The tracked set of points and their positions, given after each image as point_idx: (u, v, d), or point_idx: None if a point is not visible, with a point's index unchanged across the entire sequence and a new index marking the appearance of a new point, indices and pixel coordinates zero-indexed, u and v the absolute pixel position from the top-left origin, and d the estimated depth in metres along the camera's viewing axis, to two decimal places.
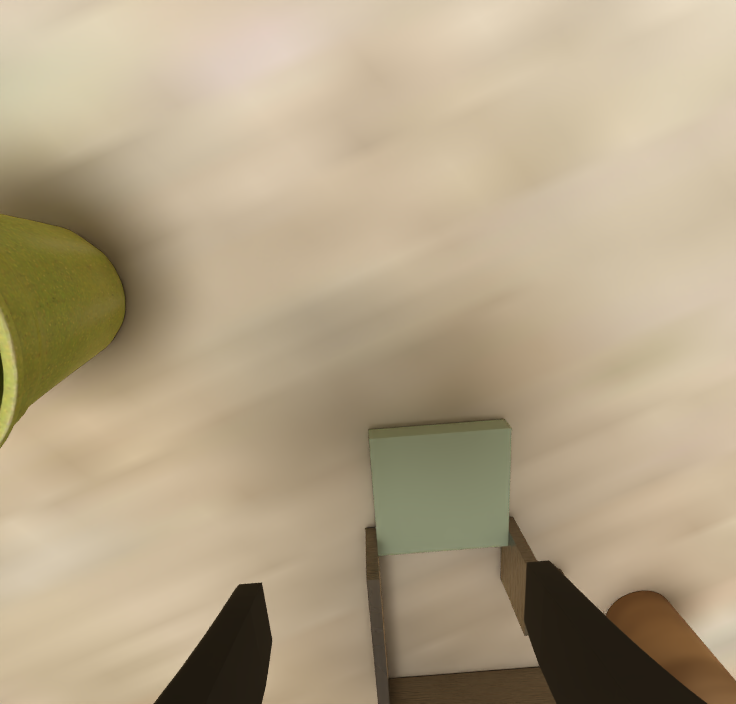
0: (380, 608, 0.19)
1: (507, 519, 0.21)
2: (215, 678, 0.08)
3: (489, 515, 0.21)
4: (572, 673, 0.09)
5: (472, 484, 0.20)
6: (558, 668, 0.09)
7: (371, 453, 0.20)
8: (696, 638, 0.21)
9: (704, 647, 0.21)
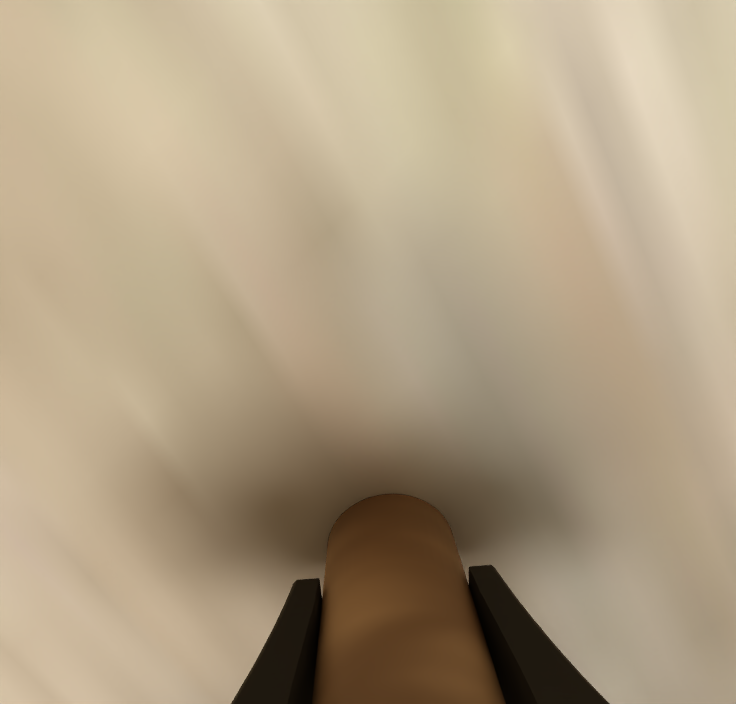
0: None
1: None
2: (293, 672, 0.08)
3: None
4: (501, 678, 0.09)
5: None
6: None
7: None
8: (328, 601, 0.10)
9: (327, 619, 0.09)
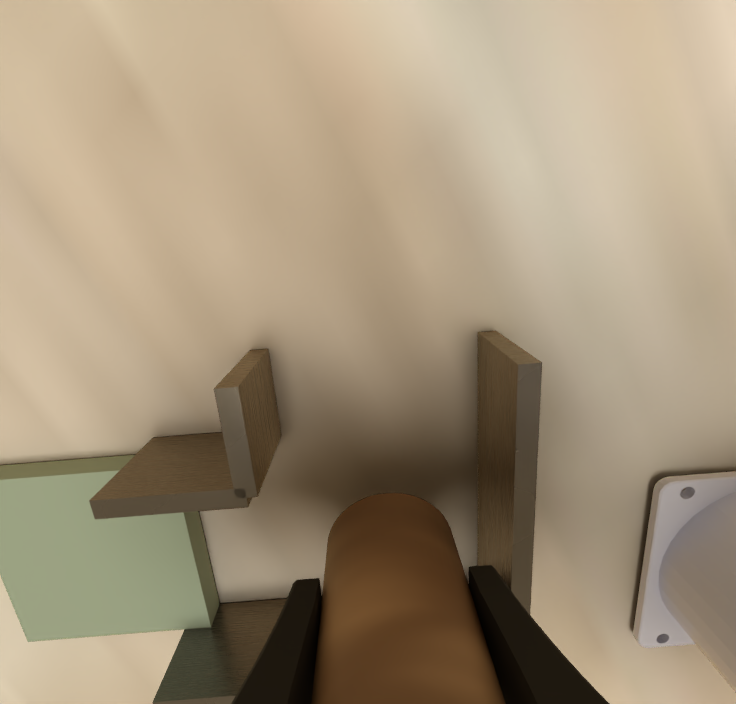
0: (207, 699, 0.13)
1: None
2: (293, 672, 0.08)
3: None
4: (501, 679, 0.09)
5: (68, 524, 0.14)
6: None
7: (47, 639, 0.15)
8: (329, 599, 0.10)
9: (327, 617, 0.09)
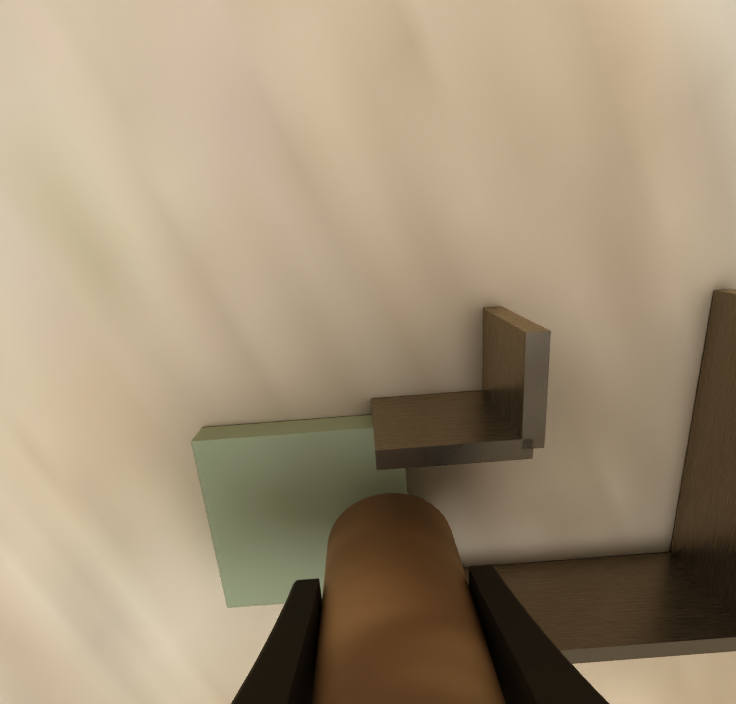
0: None
1: (352, 431, 0.13)
2: (293, 672, 0.08)
3: (345, 457, 0.13)
4: (501, 678, 0.09)
5: (290, 485, 0.14)
6: None
7: (247, 605, 0.15)
8: (329, 599, 0.10)
9: (327, 617, 0.09)
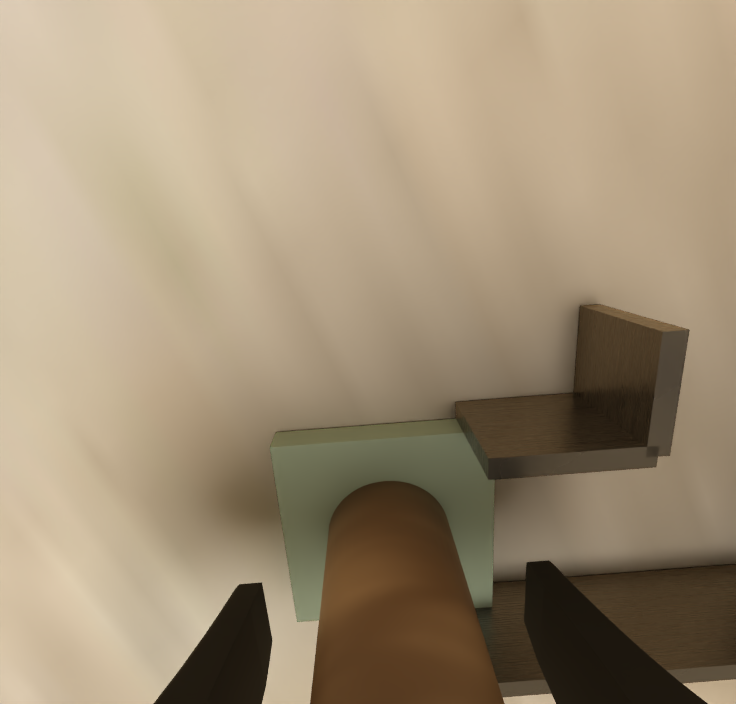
0: (544, 680, 0.12)
1: (441, 436, 0.12)
2: (215, 678, 0.08)
3: (432, 463, 0.13)
4: (572, 673, 0.09)
5: None
6: (558, 668, 0.09)
7: (318, 619, 0.14)
8: (329, 578, 0.10)
9: (328, 593, 0.10)
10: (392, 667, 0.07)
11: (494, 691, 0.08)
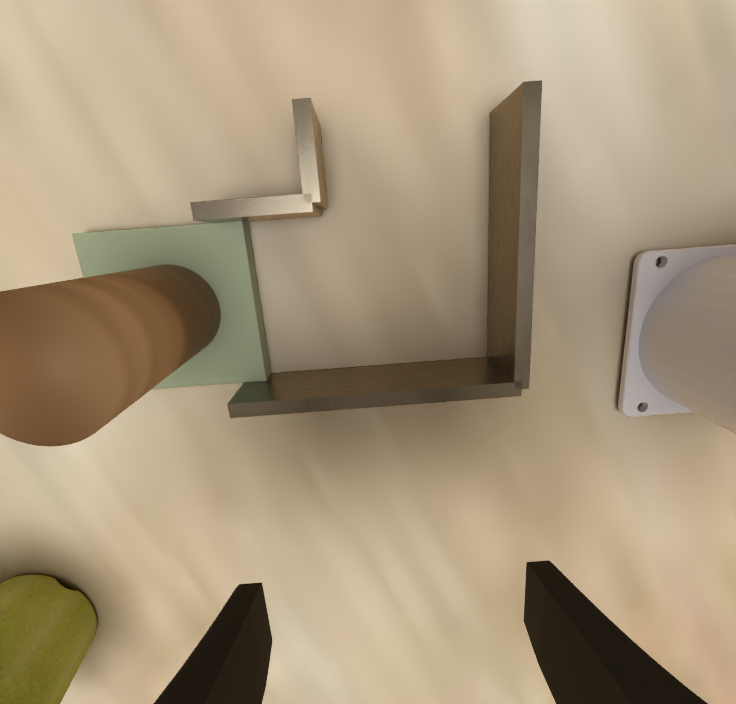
0: (271, 402, 0.16)
1: (201, 225, 0.17)
2: (215, 678, 0.08)
3: (198, 249, 0.17)
4: (572, 673, 0.09)
5: None
6: (558, 668, 0.09)
7: None
8: None
9: None
10: None
11: (141, 306, 0.12)
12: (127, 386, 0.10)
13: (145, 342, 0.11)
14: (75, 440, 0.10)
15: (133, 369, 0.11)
